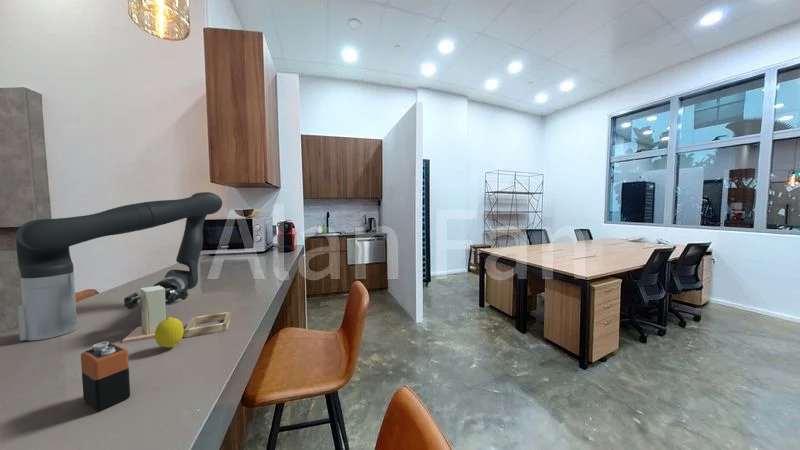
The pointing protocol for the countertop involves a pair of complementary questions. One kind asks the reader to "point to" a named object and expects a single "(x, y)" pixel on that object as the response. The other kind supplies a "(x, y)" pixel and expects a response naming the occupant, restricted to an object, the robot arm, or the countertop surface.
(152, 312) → the skincare box
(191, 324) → the square wooden frame
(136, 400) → the countertop surface
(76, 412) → the countertop surface
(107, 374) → the battery
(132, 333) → the terracotta tile
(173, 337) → the lemon
